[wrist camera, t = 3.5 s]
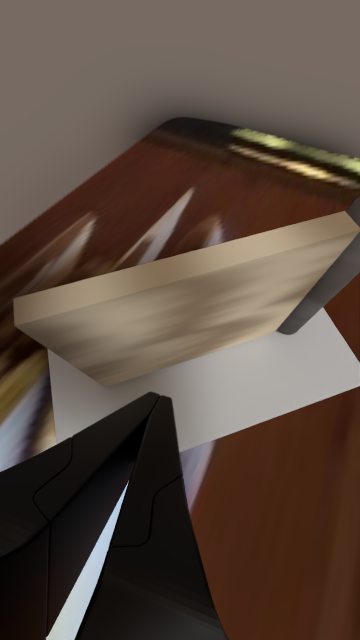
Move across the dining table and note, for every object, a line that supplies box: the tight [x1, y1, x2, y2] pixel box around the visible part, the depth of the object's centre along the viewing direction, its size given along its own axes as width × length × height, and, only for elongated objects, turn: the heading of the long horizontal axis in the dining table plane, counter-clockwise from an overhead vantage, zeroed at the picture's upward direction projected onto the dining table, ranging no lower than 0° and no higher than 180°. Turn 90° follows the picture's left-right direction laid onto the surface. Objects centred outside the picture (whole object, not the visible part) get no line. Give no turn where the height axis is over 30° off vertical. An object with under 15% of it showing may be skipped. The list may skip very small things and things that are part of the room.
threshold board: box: [47, 307, 360, 452], centre depth 18 cm, size 20×11×1 cm, turn 108°
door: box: [13, 197, 360, 387], centre depth 13 cm, size 14×4×10 cm, turn 108°
